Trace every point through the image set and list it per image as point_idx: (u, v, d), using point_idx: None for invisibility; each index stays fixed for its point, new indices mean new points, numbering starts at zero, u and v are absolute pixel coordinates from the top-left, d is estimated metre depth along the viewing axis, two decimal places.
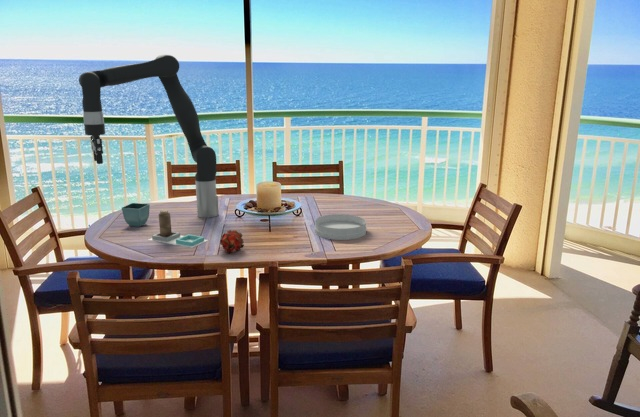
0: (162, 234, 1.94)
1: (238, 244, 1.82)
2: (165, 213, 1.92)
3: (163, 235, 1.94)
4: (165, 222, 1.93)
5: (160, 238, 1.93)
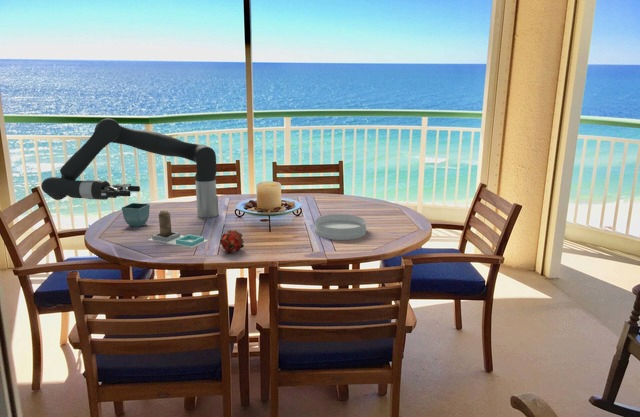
0: (162, 234, 1.94)
1: (238, 244, 1.82)
2: (165, 213, 1.92)
3: (163, 235, 1.94)
4: (165, 222, 1.93)
5: (160, 238, 1.93)
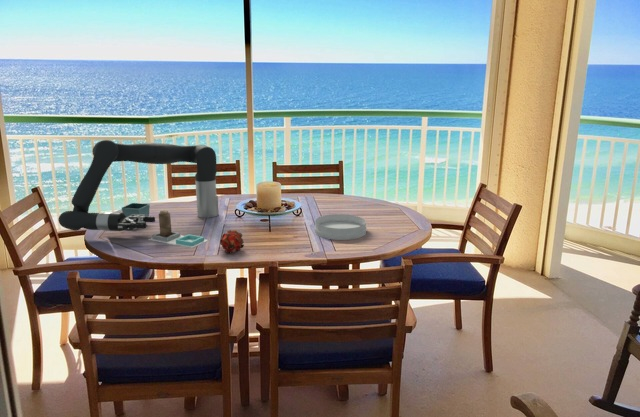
0: (162, 234, 1.94)
1: (238, 244, 1.82)
2: (165, 213, 1.92)
3: (163, 235, 1.94)
4: (165, 222, 1.93)
5: (160, 238, 1.93)
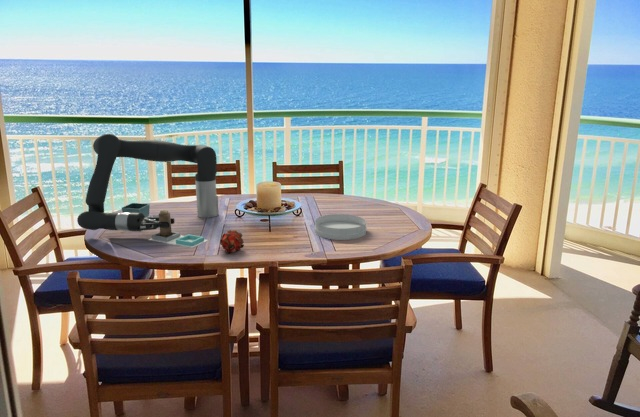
0: (162, 234, 1.94)
1: (238, 244, 1.82)
2: (165, 213, 1.92)
3: (163, 235, 1.94)
4: None
5: (160, 238, 1.93)
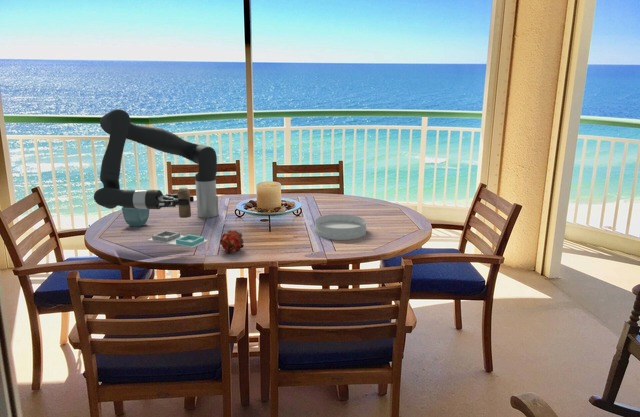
0: (181, 212, 1.87)
1: (238, 244, 1.82)
2: (184, 191, 1.85)
3: (182, 213, 1.87)
4: None
5: (160, 238, 1.93)
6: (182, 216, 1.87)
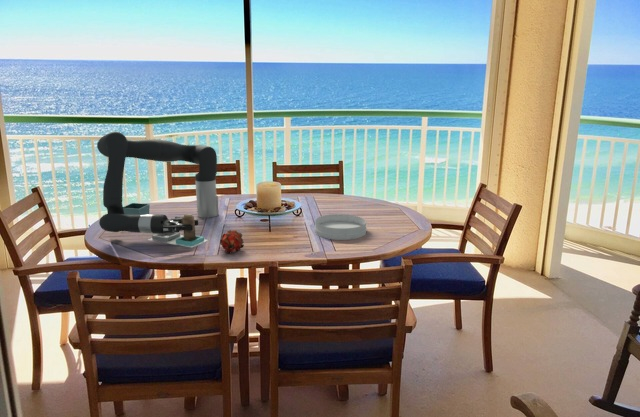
0: (186, 238, 1.89)
1: (238, 244, 1.82)
2: (189, 217, 1.87)
3: (187, 239, 1.89)
4: None
5: (160, 238, 1.93)
6: None
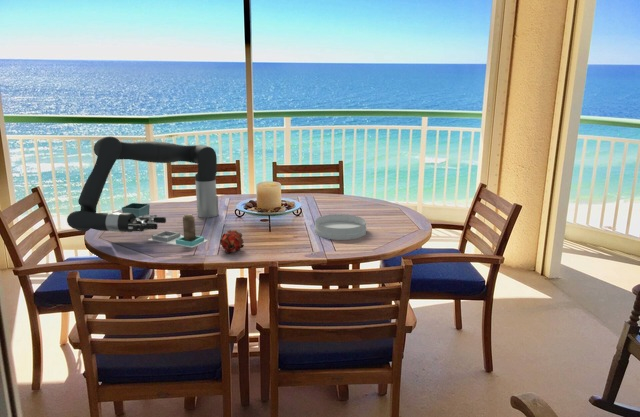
0: (186, 238, 1.89)
1: (238, 244, 1.82)
2: (189, 217, 1.87)
3: (187, 239, 1.89)
4: (190, 226, 1.88)
5: (160, 238, 1.93)
6: None
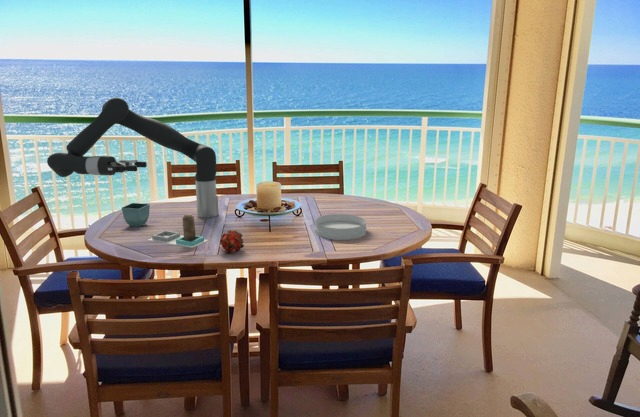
0: (186, 238, 1.89)
1: (238, 244, 1.82)
2: (189, 217, 1.87)
3: (187, 239, 1.89)
4: (189, 226, 1.88)
5: (160, 238, 1.93)
6: None
